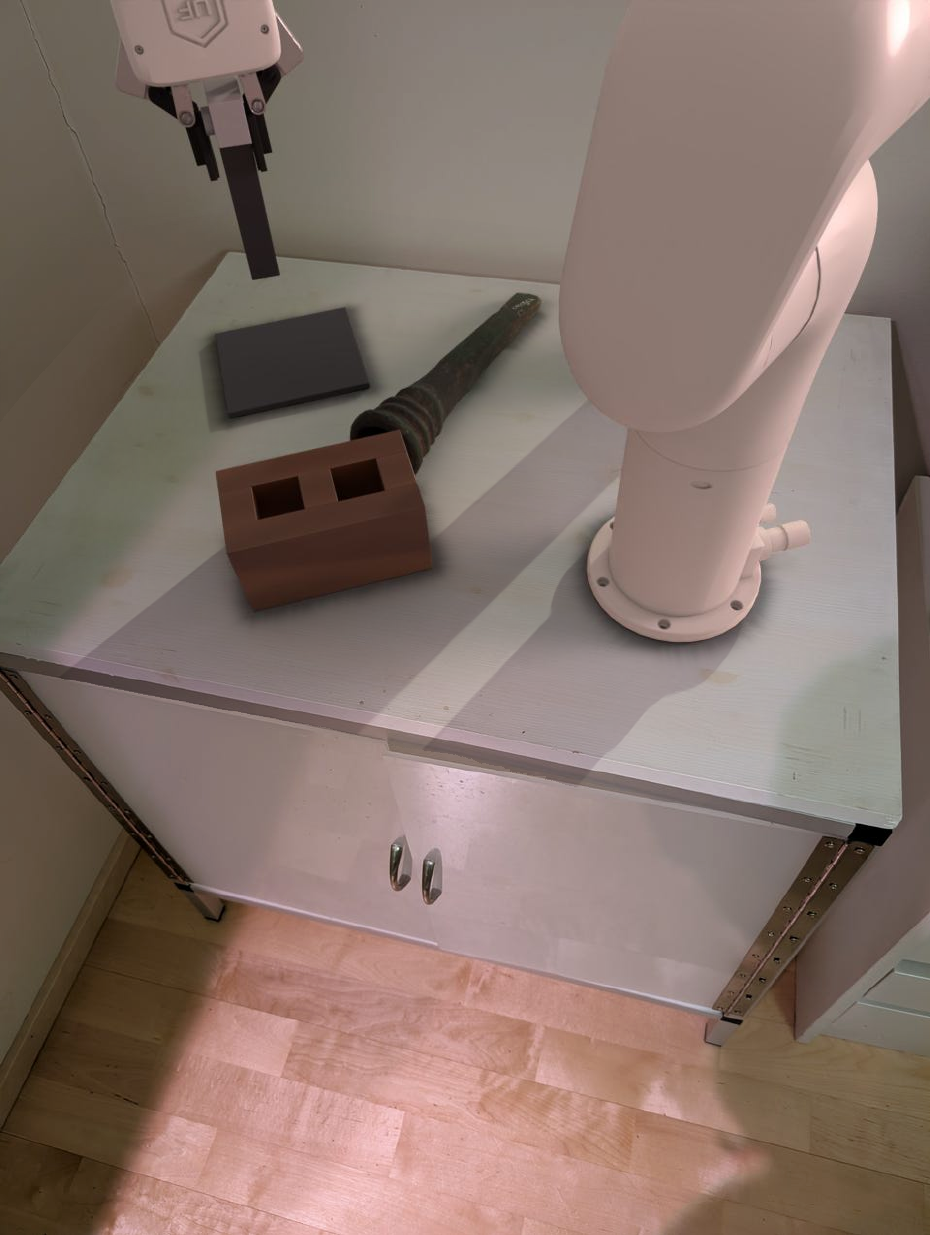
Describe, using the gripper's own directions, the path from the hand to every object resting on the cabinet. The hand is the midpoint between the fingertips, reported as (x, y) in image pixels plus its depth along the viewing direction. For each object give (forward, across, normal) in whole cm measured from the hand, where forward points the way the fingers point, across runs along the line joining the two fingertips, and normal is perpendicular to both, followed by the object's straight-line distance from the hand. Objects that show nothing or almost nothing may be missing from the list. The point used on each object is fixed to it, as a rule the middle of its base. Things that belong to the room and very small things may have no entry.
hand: (237, 165), depth 64 cm
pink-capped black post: (+9, 0, 0) cm, 9 cm away
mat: (+18, 0, 0) cm, 18 cm away
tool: (+19, +14, -8) cm, 25 cm away
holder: (+18, 0, -24) cm, 30 cm away
